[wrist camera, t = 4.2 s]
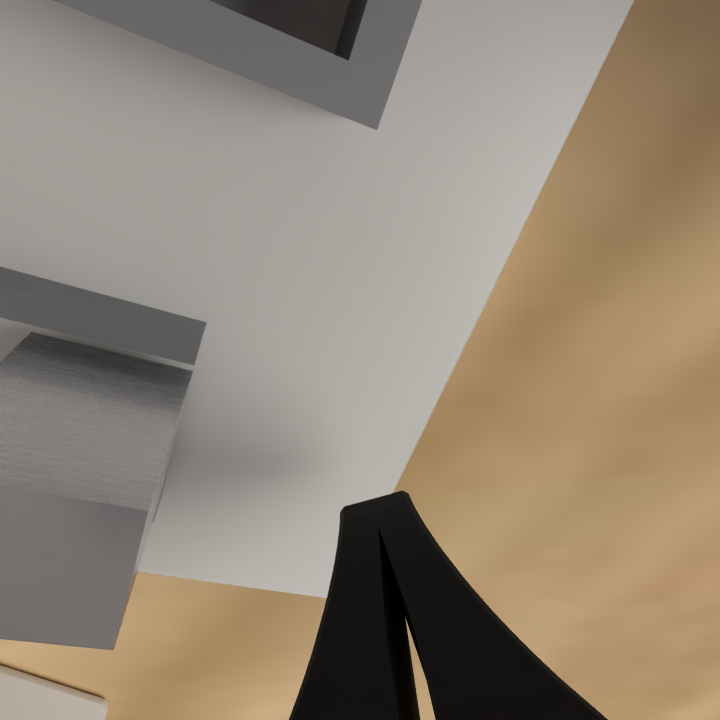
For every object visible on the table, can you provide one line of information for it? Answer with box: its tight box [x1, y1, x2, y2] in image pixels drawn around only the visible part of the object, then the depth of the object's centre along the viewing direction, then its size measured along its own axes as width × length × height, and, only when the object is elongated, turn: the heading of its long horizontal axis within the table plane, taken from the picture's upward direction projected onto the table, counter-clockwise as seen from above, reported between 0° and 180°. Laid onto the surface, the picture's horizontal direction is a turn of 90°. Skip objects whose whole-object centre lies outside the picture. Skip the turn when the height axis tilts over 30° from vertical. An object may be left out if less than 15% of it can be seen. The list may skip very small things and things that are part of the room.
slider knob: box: [0, 332, 193, 650], centre depth 9 cm, size 3×3×4 cm
